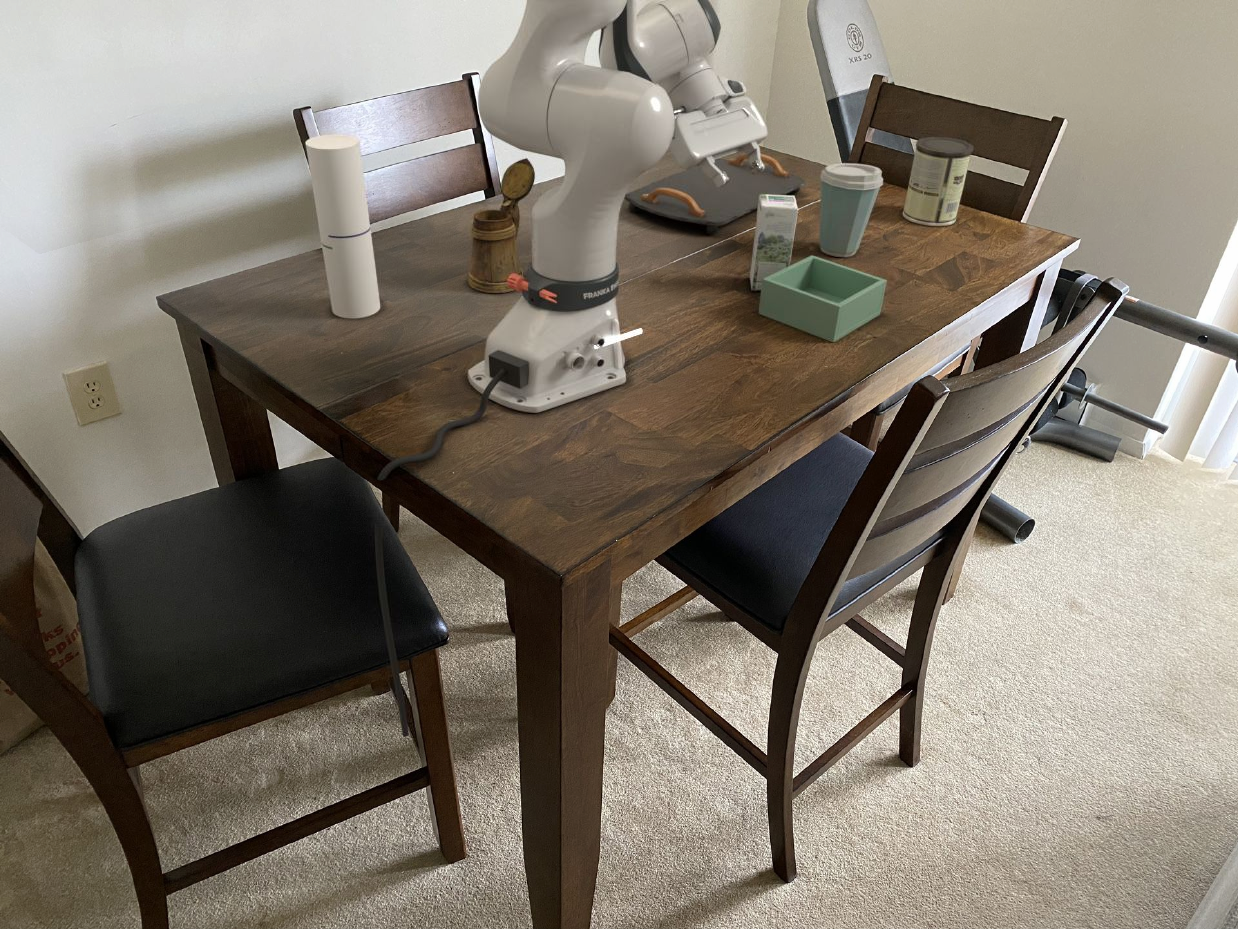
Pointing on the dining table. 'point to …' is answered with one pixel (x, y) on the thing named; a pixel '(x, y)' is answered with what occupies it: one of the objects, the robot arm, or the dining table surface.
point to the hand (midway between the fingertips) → (742, 178)
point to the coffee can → (937, 181)
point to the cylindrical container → (344, 224)
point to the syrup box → (772, 237)
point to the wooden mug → (500, 233)
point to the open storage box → (822, 297)
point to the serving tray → (713, 192)
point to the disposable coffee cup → (846, 206)
